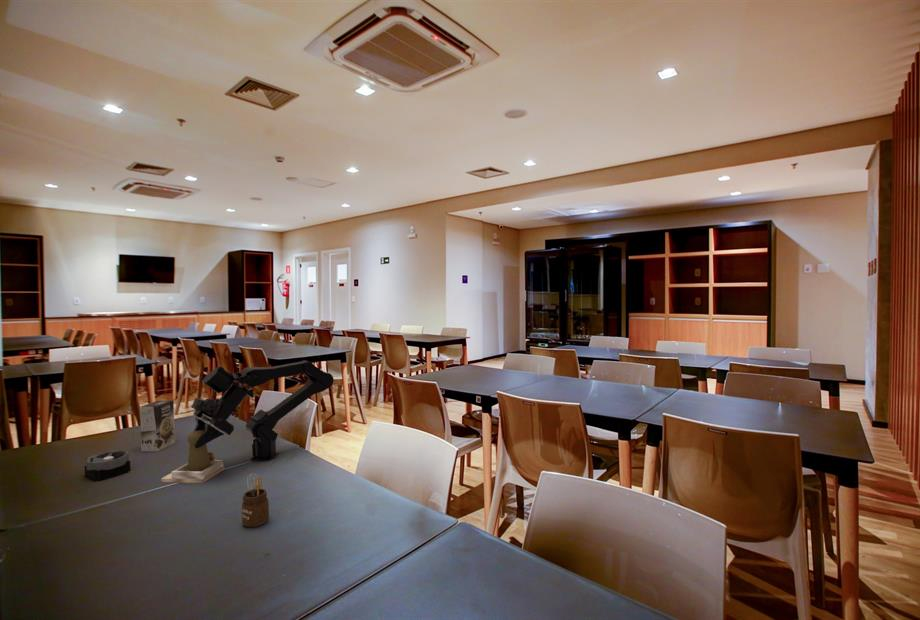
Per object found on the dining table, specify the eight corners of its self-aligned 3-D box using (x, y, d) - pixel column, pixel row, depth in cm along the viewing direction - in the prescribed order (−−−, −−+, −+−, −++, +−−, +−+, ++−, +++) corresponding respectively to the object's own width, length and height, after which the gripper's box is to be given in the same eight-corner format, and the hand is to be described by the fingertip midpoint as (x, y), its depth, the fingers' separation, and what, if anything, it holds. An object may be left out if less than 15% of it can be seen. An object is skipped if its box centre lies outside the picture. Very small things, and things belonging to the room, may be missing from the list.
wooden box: (224, 469, 137) (223, 451, 137) (202, 483, 127) (202, 464, 127) (185, 468, 138) (184, 451, 138) (161, 481, 128) (160, 463, 128)
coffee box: (158, 451, 153) (157, 406, 153) (140, 451, 153) (138, 406, 153) (176, 442, 162) (174, 399, 162) (158, 442, 163) (157, 399, 162)
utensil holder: (263, 512, 110) (262, 465, 109) (273, 521, 105) (271, 472, 105) (238, 521, 106) (236, 472, 105) (247, 531, 101) (245, 480, 101)
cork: (215, 463, 136) (213, 428, 135) (201, 471, 130) (199, 435, 129) (196, 462, 136) (194, 428, 136) (182, 471, 130) (180, 434, 130)
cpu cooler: (133, 453, 136) (93, 465, 128) (134, 471, 137) (94, 484, 128) (120, 447, 142) (80, 458, 133) (120, 465, 142) (81, 476, 134)
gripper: (198, 383, 141) (160, 425, 133) (220, 391, 128) (179, 438, 121) (226, 402, 147) (191, 443, 139) (249, 412, 134) (212, 458, 127)
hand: (192, 445), depth 131 cm, fingers closed on cork, 5 cm apart
